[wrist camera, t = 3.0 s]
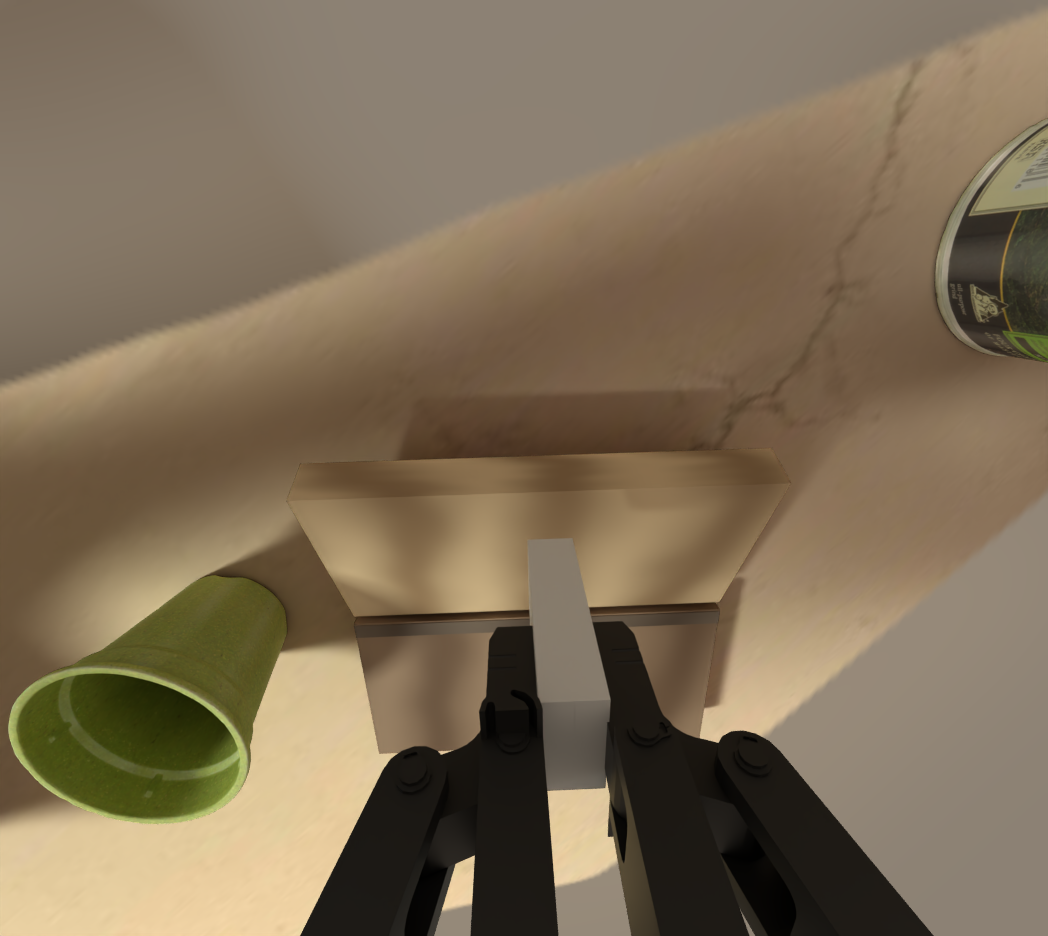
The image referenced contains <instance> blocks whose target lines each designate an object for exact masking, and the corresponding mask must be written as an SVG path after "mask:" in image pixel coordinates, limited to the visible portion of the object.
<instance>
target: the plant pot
mask: <svg viewBox="0 0 1048 936" xmlns="http://www.w3.org/2000/svg"><path fill="white" fill-rule="evenodd" d="M286 635H287V624H286V614H285V610H284V608H283V606H282V604H281V603H280V601H279V600H278V599H277V598H276V597H275V596H274V595H273V594H272V593H271V592H270V591H269V590H267V589H266V588H264V587H263V586H261V585H260V584H258V583H256V582H254V581H252V580H249V579H246V578H242V577H240V578H227V577H220V576H216V575H213V576H208V577H204V578H202V579H199V580H197V581H195V582H193V583H192V584H190V585H189V586H188V587H186V588H185V589H184V590H183V591H181V592H180V593H178V594H177V595H176V596H174V597H173V598H172V599H170V600H169V601H168V602H166V603H165V604H164V605H163V606H161V607H160V608H159V609H157V610H156V611H155V612H153V613H152V614H150V615H149V616H148V617H146V618H145V619H144V620H142V621H141V622H139V623H138V624H137V625H135V626H134V627H133V628H131V629H130V630H129V631H127V632H126V633H125V634H123V635H122V636H121V637H119V638H118V639H117V640H115V641H114V642H112V643H111V644H110V645H108V646H107V647H106V648H104V649H103V650H101V651H99V652H97V653H94V654H91V655H89V656H87V657H85V658H83V659H82V660H80V661H78V662H77V663H75V664H74V665H71V666H67V667H64V668H61V669H58V670H56V671H53V672H51V673H49V674H47V675H45V676H43V677H41V678H40V679H38V680H37V681H35V682H34V683H33V684H32V685H30V686H29V687H28V688H27V689H26V690H25V691H24V692H23V693H22V694H21V695H20V696H19V697H18V698H17V700H16V701H15V703H14V705H13V707H12V710H11V712H10V713H11V714H10V718H9V724H8V733H9V738H10V742H11V745H12V748H13V750H14V753H15V755H16V757H17V758H18V759H19V761H20V762H21V764H22V765H23V766H24V767H25V768H26V769H27V770H28V771H29V772H30V774H31V775H32V776H33V777H34V778H35V779H36V780H37V781H38V782H39V783H40V784H41V785H43V786H44V787H45V788H46V789H47V790H49V791H50V792H52V793H53V794H55V795H56V796H58V797H60V798H62V799H65V800H67V801H68V802H70V803H71V804H73V805H75V806H77V807H80V808H82V809H84V810H86V811H90V812H94V813H97V814H99V815H102V816H104V817H107V818H111V819H116V820H121V821H128V822H135V823H142V824H171V823H179V822H185V821H190V820H194V819H197V818H200V817H204V816H206V815H209V814H211V813H213V812H215V811H217V810H218V809H220V808H222V807H223V806H225V805H226V804H227V803H229V802H230V801H231V800H232V799H233V798H234V797H235V796H236V795H237V794H238V792H239V791H240V789H241V788H242V786H243V784H244V782H245V780H246V778H247V775H248V773H249V768H250V762H251V752H250V743H251V740H252V734H253V722H254V720H255V717H256V714H257V711H258V709H259V706H260V703H261V701H262V698H263V695H264V693H265V690H266V687H267V684H268V682H269V679H270V676H271V674H272V671H273V669H274V666H275V663H276V661H277V658H278V656H279V653H280V651H281V648H282V646H283V643H284V640H285V637H286Z"/></svg>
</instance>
